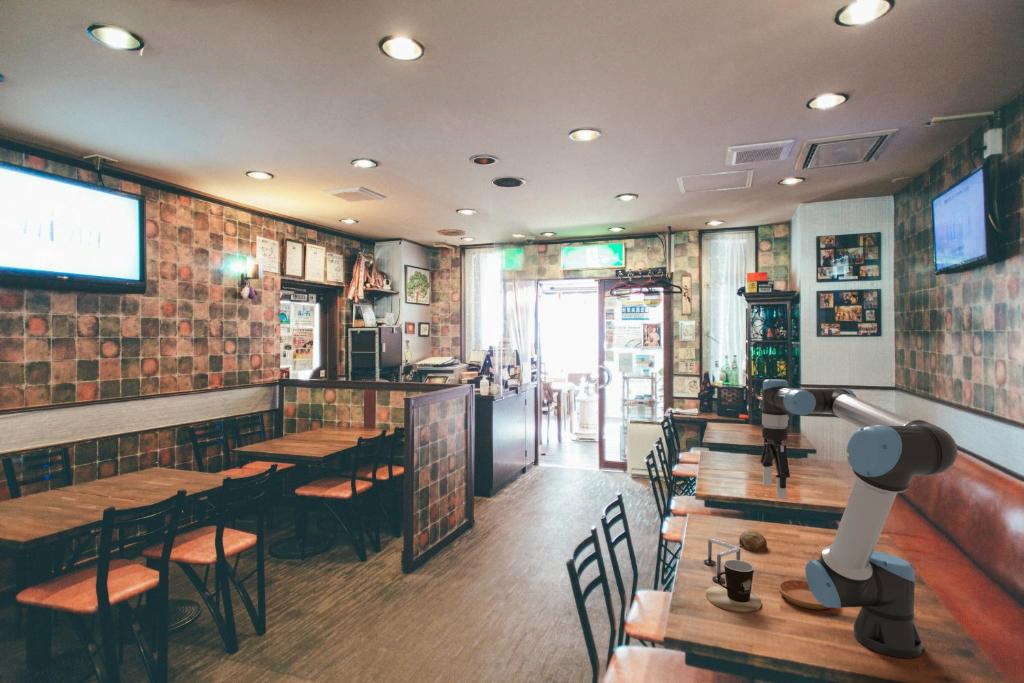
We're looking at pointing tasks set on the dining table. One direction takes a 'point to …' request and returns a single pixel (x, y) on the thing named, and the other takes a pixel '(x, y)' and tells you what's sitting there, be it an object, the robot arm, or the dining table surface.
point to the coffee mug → (738, 580)
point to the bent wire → (711, 562)
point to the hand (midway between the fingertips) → (774, 491)
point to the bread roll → (752, 541)
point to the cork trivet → (721, 600)
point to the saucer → (799, 594)
